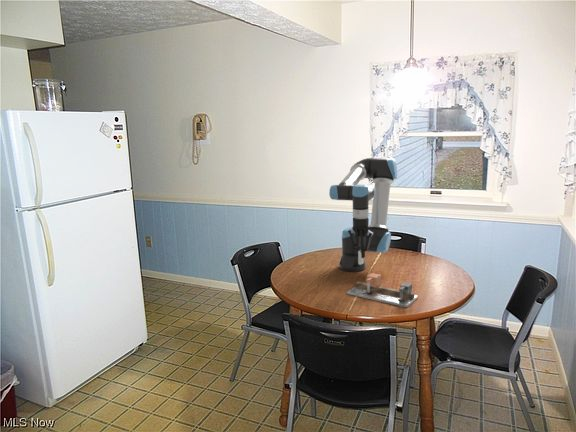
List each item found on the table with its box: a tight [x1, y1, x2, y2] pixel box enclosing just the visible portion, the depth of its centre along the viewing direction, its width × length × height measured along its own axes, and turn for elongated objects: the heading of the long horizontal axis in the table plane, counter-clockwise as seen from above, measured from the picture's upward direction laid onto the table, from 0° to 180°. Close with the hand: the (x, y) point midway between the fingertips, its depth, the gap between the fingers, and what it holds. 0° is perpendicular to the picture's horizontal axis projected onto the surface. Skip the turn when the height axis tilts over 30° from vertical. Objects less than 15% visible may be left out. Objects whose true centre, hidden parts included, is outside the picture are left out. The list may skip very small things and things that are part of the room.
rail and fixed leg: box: [355, 281, 416, 301], centre depth 201 cm, size 29×9×6 cm, turn 53°
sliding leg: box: [365, 272, 382, 293], centre depth 204 cm, size 5×9×7 cm, turn 143°
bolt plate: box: [346, 285, 419, 309], centre depth 202 cm, size 30×13×1 cm, turn 53°
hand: (360, 263), depth 209 cm, fingers closed
